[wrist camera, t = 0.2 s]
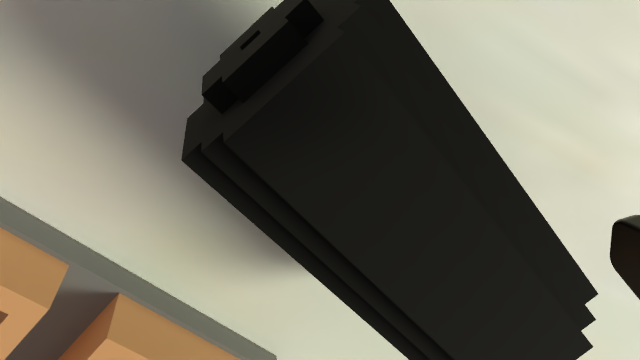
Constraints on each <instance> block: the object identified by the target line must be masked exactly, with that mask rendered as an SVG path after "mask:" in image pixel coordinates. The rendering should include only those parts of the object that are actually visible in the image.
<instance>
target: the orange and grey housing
mask: <svg viewBox="0 0 640 360" xmlns="http://www.w3.org/2000/svg"><path fill="white" fill-rule="evenodd" d="M0 360H277V358H276V356H275V355H273V354H272V353H270V352H268V351H267V350H265V349H263V348H261V347H260V346H258V345H256V344H254V343H253V342H251V341H249V340H247V339H246V338H244V337H242V336H240V335H239V334H237V333H235V332H234V331H232V330H230V329H228V328H227V327H225V326H223V325H221V324H220V323H218V322H216V321H214V320H213V319H211V318H209V317H208V316H206V315H204V314H202V313H201V312H199V311H197V310H195V309H194V308H192V307H190V306H188V305H187V304H185V303H183V302H182V301H180V300H178V299H176V298H175V297H173V296H171V295H169V294H168V293H166V292H164V291H162V290H161V289H159V288H157V287H156V286H154V285H152V284H150V283H149V282H147V281H145V280H143V279H142V278H140V277H138V276H136V275H135V274H133V273H131V272H130V271H128V270H126V269H124V268H123V267H121V266H119V265H117V264H116V263H114V262H112V261H110V260H109V259H107V258H105V257H103V256H102V255H100V254H98V253H97V252H95V251H93V250H91V249H90V248H88V247H86V246H84V245H83V244H81V243H79V242H77V241H76V240H74V239H72V238H71V237H69V236H67V235H65V234H64V233H62V232H60V231H58V230H57V229H55V228H53V227H51V226H50V225H48V224H46V223H45V222H43V221H41V220H39V219H38V218H36V217H34V216H32V215H31V214H29V213H27V212H25V211H24V210H22V209H20V208H19V207H17V206H15V205H13V204H12V203H10V202H8V201H6V200H5V199H3V198H1V197H0Z"/></svg>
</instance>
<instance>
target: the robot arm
mask: <svg viewBox="0 0 640 360" xmlns="http://www.w3.org/2000/svg"><path fill="white" fill-rule="evenodd" d="M610 260H611V263H612V265H613V267H614V269H615V270H616V271H617V273H618V274H619V275H620V276H621V277H622V279H623V280H624V281H625V282H626V284H627V285H628V286H629V287H630V289H631V290H632V291H633V292H634V293H635V295H636V296H637V297H638V298H639V300H640V215H633V216H629V217H626V218H623V219H620V220H617V221H616V222H615V223H614V225H613V227H612V236H611V248H610Z"/></svg>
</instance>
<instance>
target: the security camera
mask: <svg viewBox="0 0 640 360" xmlns="http://www.w3.org/2000/svg"><path fill="white" fill-rule="evenodd" d="M202 96H203V97H204V104H202V105H201V106H200V107H199V108H198V109H197V110H196V111H195V112H194V113H193V114H192V115H191V116H190V117H189V118H187V125H186V132H185V139H184V146H183V153H182V161H183V162H184V163H185V164H186V165H187V166H188V167H190V168H191V169H192V170H193V171H194V172H195V173H196V174H198V175H199V176H200V177H201V178H202V179H203V180H204V181H206V182H207V183H208V184H209V185H210V186H211V187H212V188H214V189H215V190H216V191H217V192H218V193H219V194H220V195H222V196H223V197H224V198H225V199H226V200H227V201H228V202H230V203H231V204H232V205H233V206H234V207H235V208H236V209H238V210H239V211H240V212H241V213H242V214H243V215H244V216H246V217H247V218H248V219H249V220H250V221H251V222H252V223H254V224H255V225H256V226H257V227H258V228H259V229H260V230H262V231H263V232H264V233H265V234H266V235H267V236H268V237H270V238H271V239H272V240H273V241H274V242H275V243H276V244H278V245H279V246H280V247H281V248H282V249H283V250H284V251H286V252H287V253H288V254H289V255H290V256H291V257H292V258H294V259H295V260H296V261H297V262H298V263H299V264H300V265H302V266H303V267H304V268H305V269H306V270H307V271H308V272H310V273H311V274H312V275H313V276H314V277H315V278H316V279H318V280H319V281H320V282H321V283H322V284H323V285H324V286H326V287H327V288H328V289H329V290H330V291H331V292H332V293H334V294H335V295H336V296H337V297H338V298H339V299H340V300H342V301H343V302H344V303H345V304H346V305H347V306H348V307H350V308H351V309H352V310H353V311H354V312H355V313H356V314H358V315H359V316H360V317H361V318H362V319H363V320H364V321H366V322H367V323H368V324H369V325H370V326H371V327H372V328H374V329H375V330H376V331H377V332H378V333H379V334H380V335H382V336H383V337H384V338H385V339H386V340H387V341H388V342H390V343H391V344H392V345H393V346H394V347H395V348H396V349H398V350H399V351H400V352H401V353H402V354H403V355H404V356H406V357H407V358H408V359H409V360H576V359H578V358H579V357H580V356H582V355H583V354H584V353H586V352H587V351H588V350H590V349H591V348H593V346H592V345H591V343H590V342H589V341H588V340H587V338H586V337H585V336H584V334H583V333H582V332H581V330H583V329H584V328H585V327H587V326H588V325H589V324H591V323H592V322H593V321H595V320H596V319H595V318H594V316H593V315H592V314H591V312H590V311H589V310H588V308H587V307H586V306H585V304H586V303H587V302H588V301H590V300H591V299H592V298H594V297H595V296H596V295H598V293H597V291H596V290H595V288H594V287H593V286H592V284H591V283H590V281H589V280H588V279H587V277H586V276H585V274H584V273H583V272H582V270H581V269H580V267H579V266H578V265H577V263H576V262H575V260H574V259H573V258H572V256H571V255H570V253H569V252H568V251H567V249H566V248H565V246H564V245H563V244H562V242H561V241H560V239H559V238H558V236H557V235H556V234H555V232H554V231H553V229H552V228H551V227H550V225H549V224H548V222H547V221H546V220H545V218H544V217H543V215H542V214H541V213H540V211H539V210H538V208H537V207H536V206H535V204H534V203H533V201H532V200H531V199H530V197H529V196H528V194H527V193H526V192H525V190H524V189H523V187H522V186H521V184H520V183H519V182H518V180H517V179H516V177H515V176H514V175H513V173H512V172H511V170H510V169H509V168H508V166H507V165H506V163H505V162H504V161H503V159H502V158H501V156H500V155H499V154H498V152H497V151H496V149H495V148H494V147H493V145H492V144H491V142H490V141H489V139H488V138H487V137H486V135H485V134H484V132H483V131H482V130H481V128H480V127H479V125H478V124H477V123H476V121H475V120H474V118H473V117H472V116H471V114H470V113H469V111H468V110H467V109H466V107H465V106H464V104H463V103H462V102H461V100H460V99H459V97H458V96H457V95H456V93H455V92H454V90H453V89H452V87H451V86H450V85H449V83H448V82H447V80H446V79H445V78H444V76H443V75H442V73H441V72H440V71H439V69H438V68H437V66H436V65H435V64H434V62H433V61H432V59H431V58H430V57H429V55H428V54H427V52H426V51H425V50H424V48H423V47H422V45H421V44H420V43H419V41H418V40H417V38H416V37H415V35H414V34H413V33H412V31H411V30H410V28H409V27H408V26H407V24H406V23H405V21H404V20H403V19H402V17H401V16H400V14H399V13H398V12H397V10H396V9H395V7H394V6H393V5H392V3H391V2H390V0H284V1H283V2H281V3H280V4H279V5H278V6H277V7H276V8H275V9H274V8H273V7H271V8H270V9H269V10H268V11H267V12H266V13H265V14H264V15H262V16H261V17H260V18H259V19H258V20H257V21H256V22H255V23H254V24H253V25H252V26H251V27H250V28H249V29H248V30H247V31H246V32H244V33H243V34H242V35H241V36H240V37H239V38H238V39H237V40H236V41H235V42H234V43H233V44H232V45H231V46H230V47H229V48H227V49H226V50H225V51H224V52H223V53H222V54H221V55H220V61H219V62H218V63H217V64H216V65H215V66H213V67H212V68H211V69H210V70H209V71H208V72H207V73H206V74H205V75H204V76H203V83H202Z"/></svg>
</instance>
